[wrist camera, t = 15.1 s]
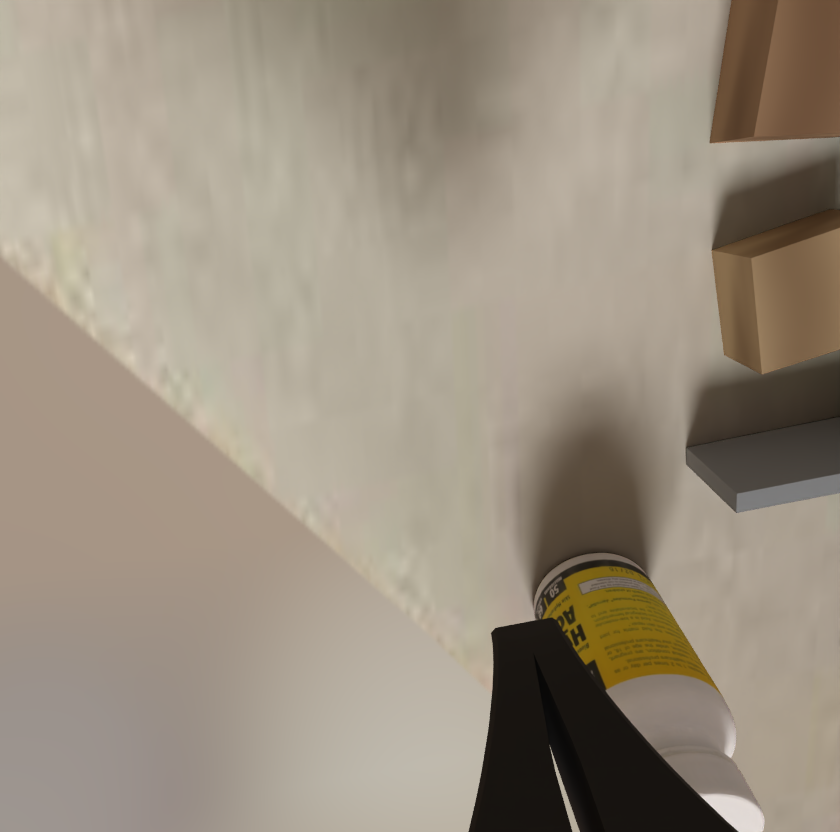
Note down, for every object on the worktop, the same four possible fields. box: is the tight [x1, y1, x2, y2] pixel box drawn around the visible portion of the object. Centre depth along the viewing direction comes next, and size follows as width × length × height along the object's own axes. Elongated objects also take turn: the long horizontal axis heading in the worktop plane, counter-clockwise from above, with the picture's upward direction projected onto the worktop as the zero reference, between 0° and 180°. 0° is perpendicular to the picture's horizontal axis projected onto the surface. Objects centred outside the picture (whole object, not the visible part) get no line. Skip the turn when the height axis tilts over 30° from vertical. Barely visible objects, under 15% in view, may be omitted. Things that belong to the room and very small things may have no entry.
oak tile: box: [712, 209, 840, 374], centre depth 18 cm, size 4×4×2 cm
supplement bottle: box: [534, 553, 764, 832], centre depth 20 cm, size 5×5×10 cm
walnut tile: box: [710, 0, 840, 143], centre depth 15 cm, size 4×4×2 cm
